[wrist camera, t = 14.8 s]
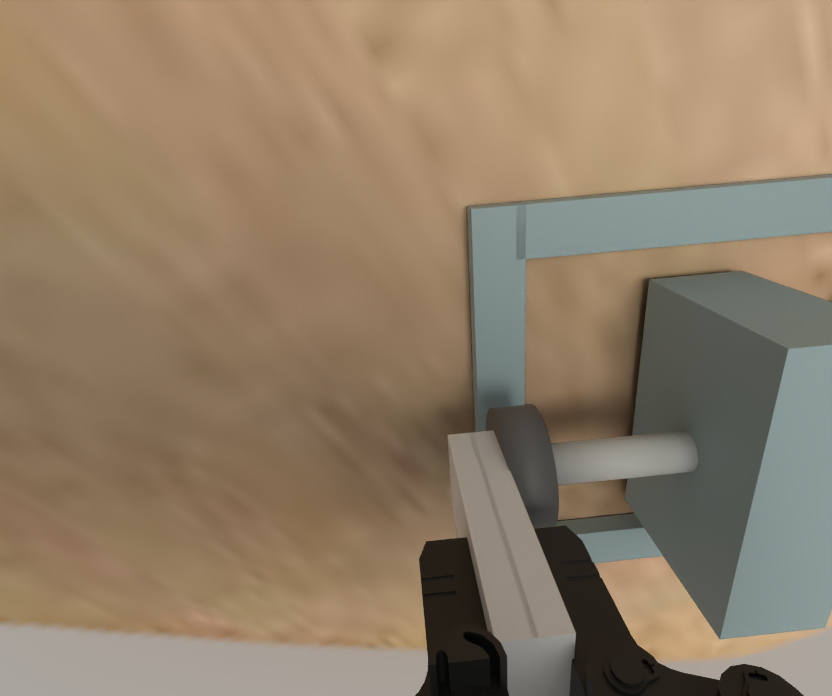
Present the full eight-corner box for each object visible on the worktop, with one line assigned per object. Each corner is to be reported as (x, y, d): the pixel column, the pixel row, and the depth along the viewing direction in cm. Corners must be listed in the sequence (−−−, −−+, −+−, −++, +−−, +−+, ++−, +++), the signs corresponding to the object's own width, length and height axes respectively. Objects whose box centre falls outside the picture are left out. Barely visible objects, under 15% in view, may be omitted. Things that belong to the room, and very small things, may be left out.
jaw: (481, 514, 19) (520, 661, 13) (475, 295, 15) (522, 374, 10) (715, 490, 19) (845, 625, 14) (759, 269, 16) (956, 332, 10)
